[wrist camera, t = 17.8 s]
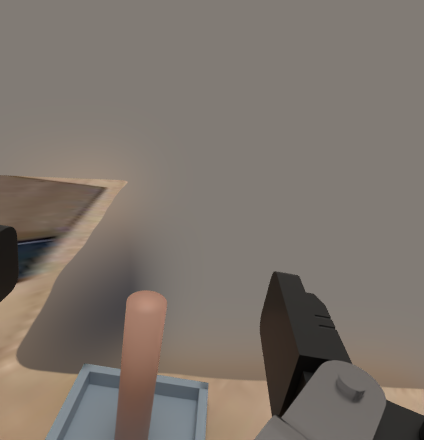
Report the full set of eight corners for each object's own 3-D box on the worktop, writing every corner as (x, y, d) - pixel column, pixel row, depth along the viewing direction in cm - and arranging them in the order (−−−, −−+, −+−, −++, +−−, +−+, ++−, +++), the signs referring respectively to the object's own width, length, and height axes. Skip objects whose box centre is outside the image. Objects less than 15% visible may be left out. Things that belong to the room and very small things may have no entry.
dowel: (151, 425, 37) (170, 294, 30) (144, 457, 33) (163, 318, 27) (119, 420, 36) (132, 287, 30) (109, 451, 33) (121, 311, 27)
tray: (204, 400, 42) (208, 382, 41) (195, 528, 30) (201, 507, 28) (83, 382, 41) (84, 363, 40) (24, 503, 29) (23, 481, 28)
